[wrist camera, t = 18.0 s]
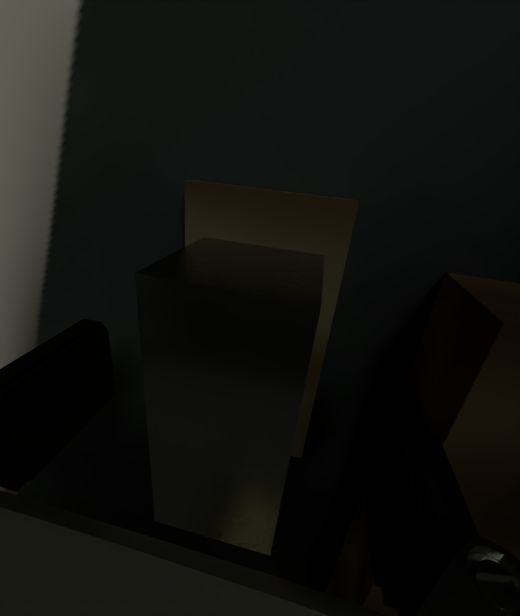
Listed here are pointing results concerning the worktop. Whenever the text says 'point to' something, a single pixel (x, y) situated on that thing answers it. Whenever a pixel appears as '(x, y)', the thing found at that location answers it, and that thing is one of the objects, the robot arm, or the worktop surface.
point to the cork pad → (280, 234)
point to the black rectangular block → (225, 382)
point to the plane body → (460, 419)
